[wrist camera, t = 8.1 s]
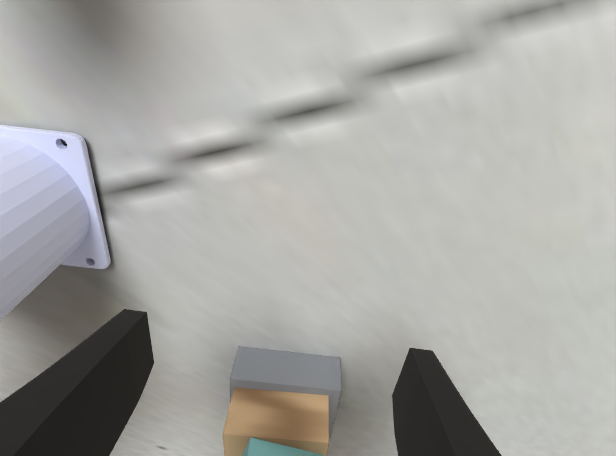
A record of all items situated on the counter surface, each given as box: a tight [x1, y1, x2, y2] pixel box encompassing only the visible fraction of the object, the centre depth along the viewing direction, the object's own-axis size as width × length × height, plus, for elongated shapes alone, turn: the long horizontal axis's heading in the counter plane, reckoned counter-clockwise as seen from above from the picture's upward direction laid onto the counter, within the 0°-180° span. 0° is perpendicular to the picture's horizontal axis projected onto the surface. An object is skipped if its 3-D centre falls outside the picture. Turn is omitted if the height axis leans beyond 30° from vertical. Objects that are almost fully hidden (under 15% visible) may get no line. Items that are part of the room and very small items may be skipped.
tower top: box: [223, 387, 329, 456], centre depth 24 cm, size 6×6×3 cm
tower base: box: [230, 346, 341, 445], centre depth 26 cm, size 7×7×3 cm
